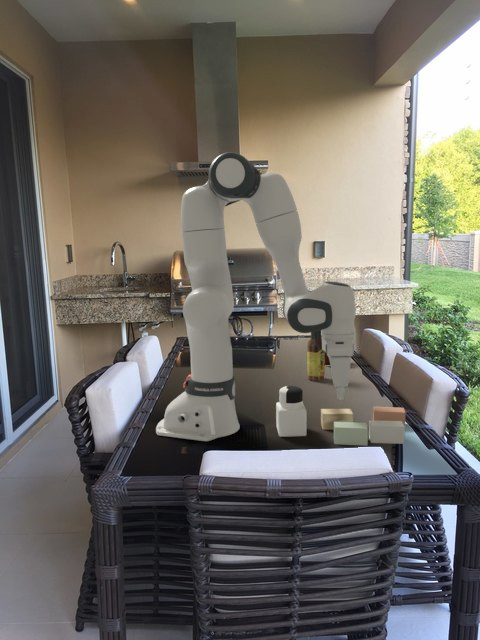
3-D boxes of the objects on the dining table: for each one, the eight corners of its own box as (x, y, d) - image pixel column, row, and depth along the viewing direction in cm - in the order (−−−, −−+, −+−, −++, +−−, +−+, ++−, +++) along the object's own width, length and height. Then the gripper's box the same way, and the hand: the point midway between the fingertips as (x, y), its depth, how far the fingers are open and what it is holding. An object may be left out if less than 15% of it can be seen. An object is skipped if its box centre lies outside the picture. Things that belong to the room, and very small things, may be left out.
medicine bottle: (302, 426, 135) (302, 383, 133) (306, 436, 128) (306, 391, 126) (276, 427, 135) (275, 384, 133) (279, 437, 128) (278, 392, 126)
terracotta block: (374, 427, 134) (374, 411, 133) (372, 422, 138) (373, 406, 137) (405, 428, 133) (405, 412, 132) (402, 423, 136) (403, 407, 136)
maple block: (322, 430, 133) (322, 413, 132) (320, 424, 137) (320, 408, 136) (352, 429, 132) (353, 413, 132) (350, 424, 136) (350, 408, 136)
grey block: (370, 443, 123) (371, 426, 123) (368, 437, 127) (369, 420, 127) (404, 444, 122) (404, 426, 122) (401, 438, 126) (401, 421, 126)
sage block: (334, 444, 123) (334, 427, 122) (333, 438, 127) (333, 421, 126) (367, 446, 122) (367, 428, 121) (365, 439, 126) (366, 422, 125)
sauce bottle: (324, 382, 178) (324, 327, 175) (306, 381, 179) (306, 327, 176) (324, 377, 184) (325, 324, 181) (307, 376, 185) (307, 324, 182)
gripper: (326, 335, 142) (327, 382, 144) (327, 351, 122) (328, 405, 124) (348, 335, 141) (349, 382, 143) (353, 350, 121) (354, 405, 123)
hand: (339, 393), depth 133 cm, fingers open, 8 cm apart
